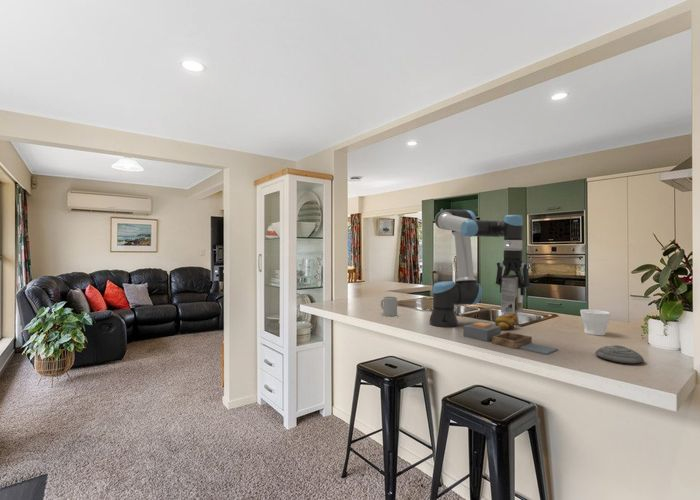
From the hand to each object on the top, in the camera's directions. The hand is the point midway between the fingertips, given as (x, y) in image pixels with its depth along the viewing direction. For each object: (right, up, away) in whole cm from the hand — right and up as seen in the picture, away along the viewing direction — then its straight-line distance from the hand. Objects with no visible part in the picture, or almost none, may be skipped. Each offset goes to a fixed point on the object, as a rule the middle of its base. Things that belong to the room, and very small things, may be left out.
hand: (511, 301), depth 159 cm
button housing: (-9, -18, +11) cm, 23 cm away
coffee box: (0, -5, 0) cm, 5 cm away
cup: (+50, -19, +19) cm, 57 cm away
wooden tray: (0, -19, 0) cm, 19 cm away
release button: (-9, -17, +11) cm, 23 cm away
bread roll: (+9, -19, +30) cm, 36 cm away
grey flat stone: (+31, -20, -22) cm, 43 cm away
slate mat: (+7, -19, -9) cm, 22 cm away
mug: (-48, -18, +64) cm, 82 cm away
